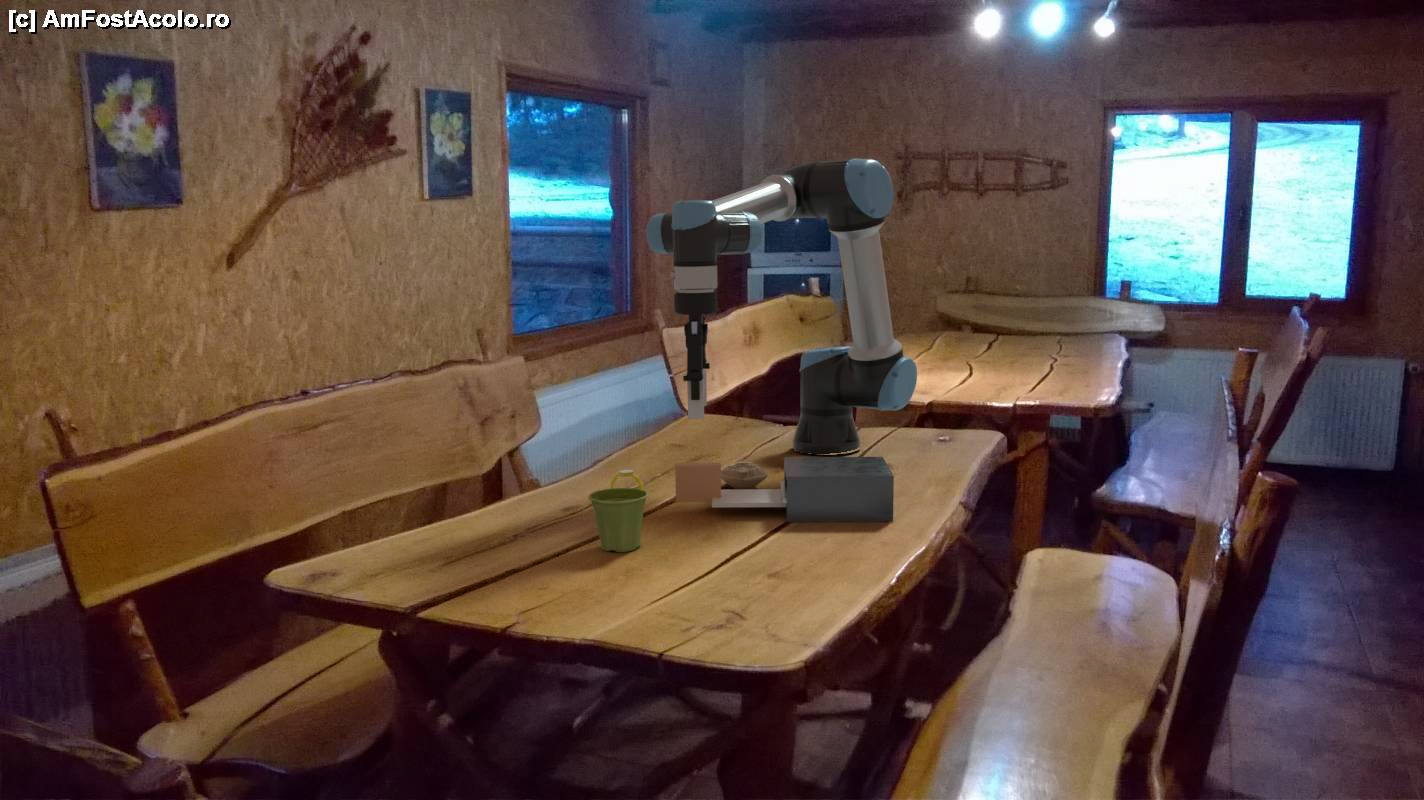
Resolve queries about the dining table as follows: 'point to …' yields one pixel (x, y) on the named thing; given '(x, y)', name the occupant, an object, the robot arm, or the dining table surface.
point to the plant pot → (619, 517)
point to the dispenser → (837, 489)
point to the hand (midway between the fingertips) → (697, 412)
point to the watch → (628, 473)
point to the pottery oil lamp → (743, 475)
